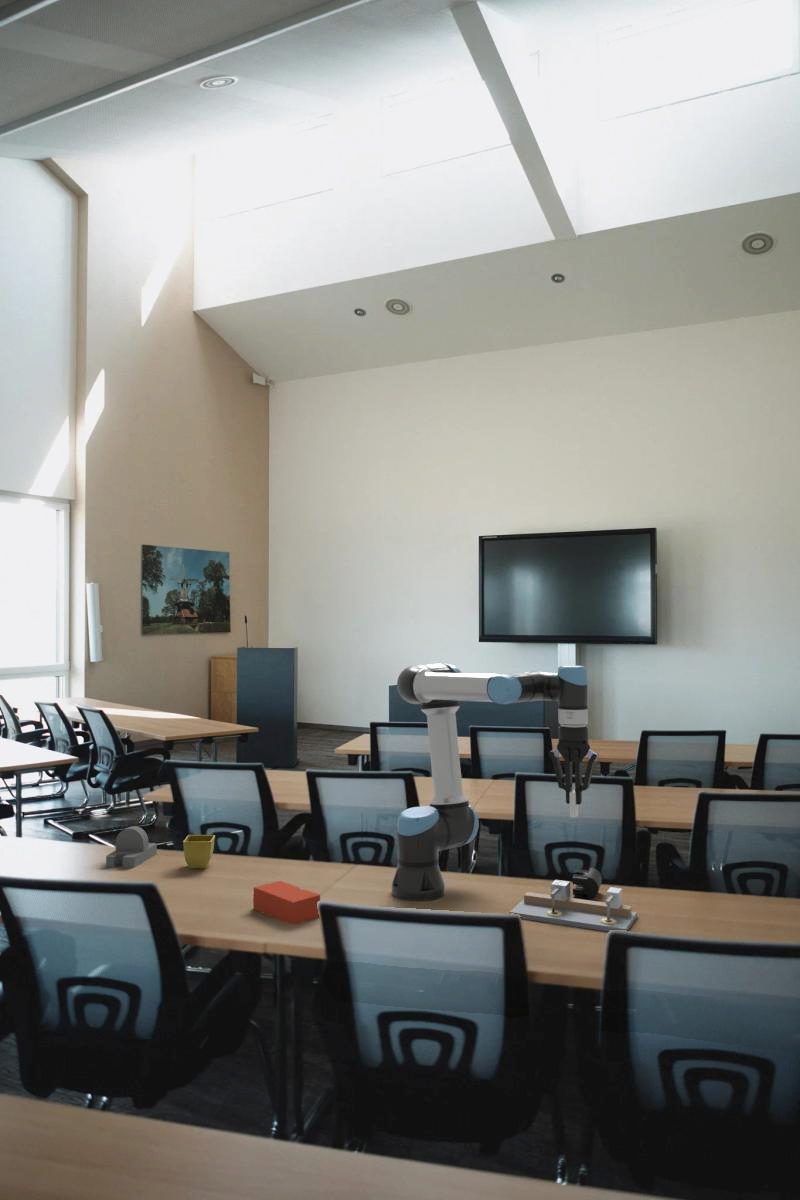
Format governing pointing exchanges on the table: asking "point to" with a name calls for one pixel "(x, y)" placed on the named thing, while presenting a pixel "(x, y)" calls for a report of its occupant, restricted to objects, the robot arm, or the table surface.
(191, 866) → the flower pot
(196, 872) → the table surface
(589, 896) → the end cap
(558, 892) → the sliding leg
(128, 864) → the bracket
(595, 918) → the board
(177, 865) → the table surface
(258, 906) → the brick
